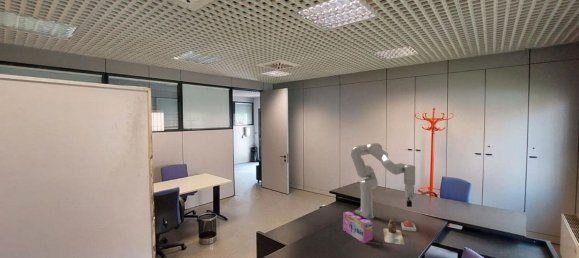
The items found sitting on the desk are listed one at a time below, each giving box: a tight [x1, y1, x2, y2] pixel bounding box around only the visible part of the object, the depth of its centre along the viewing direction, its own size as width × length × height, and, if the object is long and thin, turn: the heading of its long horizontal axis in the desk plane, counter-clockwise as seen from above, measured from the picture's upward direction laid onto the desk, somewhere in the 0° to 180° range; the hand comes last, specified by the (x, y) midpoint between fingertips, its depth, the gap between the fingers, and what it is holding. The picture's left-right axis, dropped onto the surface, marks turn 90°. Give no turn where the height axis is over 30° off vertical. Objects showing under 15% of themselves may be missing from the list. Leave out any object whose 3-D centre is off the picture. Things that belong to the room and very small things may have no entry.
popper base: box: [400, 221, 417, 232], centre depth 188 cm, size 9×9×3 cm
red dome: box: [404, 219, 413, 228], centre depth 188 cm, size 5×5×6 cm
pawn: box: [388, 218, 397, 233], centre depth 182 cm, size 5×5×9 cm
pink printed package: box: [342, 210, 374, 244], centre depth 179 cm, size 24×8×14 cm, turn 27°
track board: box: [382, 228, 405, 245], centre depth 176 cm, size 12×22×1 cm, turn 163°
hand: (409, 206), depth 187 cm, fingers closed
